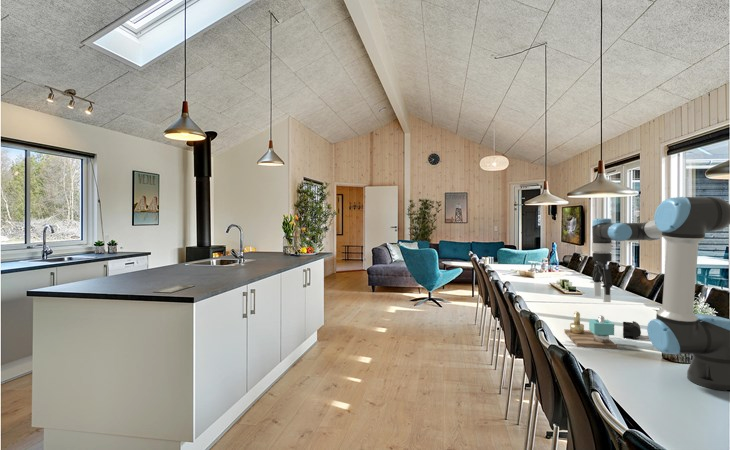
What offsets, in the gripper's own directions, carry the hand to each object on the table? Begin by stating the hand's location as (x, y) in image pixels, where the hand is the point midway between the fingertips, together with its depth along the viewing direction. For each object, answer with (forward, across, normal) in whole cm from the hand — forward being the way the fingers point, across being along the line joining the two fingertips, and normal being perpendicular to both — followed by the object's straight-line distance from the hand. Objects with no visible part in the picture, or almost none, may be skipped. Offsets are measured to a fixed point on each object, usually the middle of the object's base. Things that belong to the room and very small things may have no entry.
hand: (601, 299), depth 190 cm
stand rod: (+19, 0, 0) cm, 19 cm away
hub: (+19, +13, +7) cm, 24 cm away
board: (+21, +6, +4) cm, 22 cm away
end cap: (+21, +16, -18) cm, 32 cm away
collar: (+15, 0, 0) cm, 15 cm away
